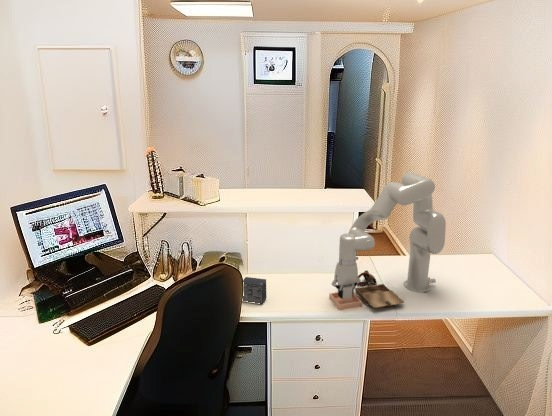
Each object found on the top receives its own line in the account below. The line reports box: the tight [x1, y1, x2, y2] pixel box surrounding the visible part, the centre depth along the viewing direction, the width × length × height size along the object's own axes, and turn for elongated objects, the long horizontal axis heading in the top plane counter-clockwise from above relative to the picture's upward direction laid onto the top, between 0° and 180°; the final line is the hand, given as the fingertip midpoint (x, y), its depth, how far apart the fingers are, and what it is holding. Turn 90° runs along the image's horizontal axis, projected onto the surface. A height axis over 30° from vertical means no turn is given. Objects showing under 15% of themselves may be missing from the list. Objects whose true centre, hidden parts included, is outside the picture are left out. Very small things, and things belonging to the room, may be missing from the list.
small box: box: [242, 276, 268, 305], centre depth 201 cm, size 11×6×10 cm, turn 74°
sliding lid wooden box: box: [354, 283, 405, 309], centre depth 200 cm, size 16×19×4 cm
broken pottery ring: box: [356, 270, 378, 288], centre depth 215 cm, size 12×10×8 cm
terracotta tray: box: [328, 291, 363, 311], centre depth 199 cm, size 11×11×3 cm
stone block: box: [342, 284, 353, 300], centre depth 197 cm, size 4×4×6 cm
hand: (345, 295), depth 198 cm, fingers closed on stone block, 4 cm apart
